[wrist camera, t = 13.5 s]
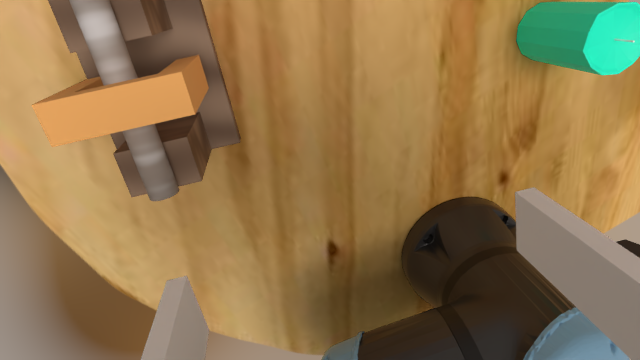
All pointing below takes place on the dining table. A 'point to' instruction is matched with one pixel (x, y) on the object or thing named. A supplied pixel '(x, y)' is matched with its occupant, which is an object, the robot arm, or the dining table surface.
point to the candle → (582, 35)
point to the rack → (144, 60)
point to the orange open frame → (122, 103)
